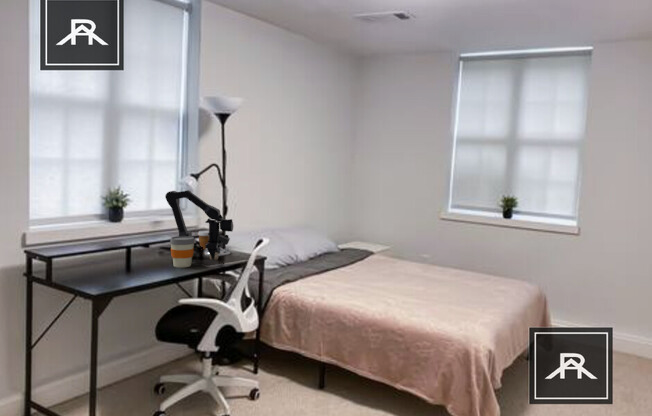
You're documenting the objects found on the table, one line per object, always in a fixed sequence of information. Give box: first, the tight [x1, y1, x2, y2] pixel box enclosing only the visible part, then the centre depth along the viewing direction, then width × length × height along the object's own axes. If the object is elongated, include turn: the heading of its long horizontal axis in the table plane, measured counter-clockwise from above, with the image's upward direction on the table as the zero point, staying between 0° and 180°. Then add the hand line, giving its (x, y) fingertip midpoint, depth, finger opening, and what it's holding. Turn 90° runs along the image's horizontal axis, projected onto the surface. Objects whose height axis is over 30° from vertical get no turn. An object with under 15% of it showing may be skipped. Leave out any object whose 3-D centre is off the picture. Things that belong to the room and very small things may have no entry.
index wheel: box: [204, 242, 231, 257], centre depth 311 cm, size 15×15×10 cm
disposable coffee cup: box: [197, 230, 209, 251], centre depth 326 cm, size 10×10×12 cm
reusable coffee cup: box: [169, 235, 195, 268], centre depth 281 cm, size 12×12×15 cm
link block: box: [209, 253, 219, 261], centre depth 296 cm, size 4×4×4 cm
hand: (213, 258), depth 297 cm, fingers closed on link block, 4 cm apart
